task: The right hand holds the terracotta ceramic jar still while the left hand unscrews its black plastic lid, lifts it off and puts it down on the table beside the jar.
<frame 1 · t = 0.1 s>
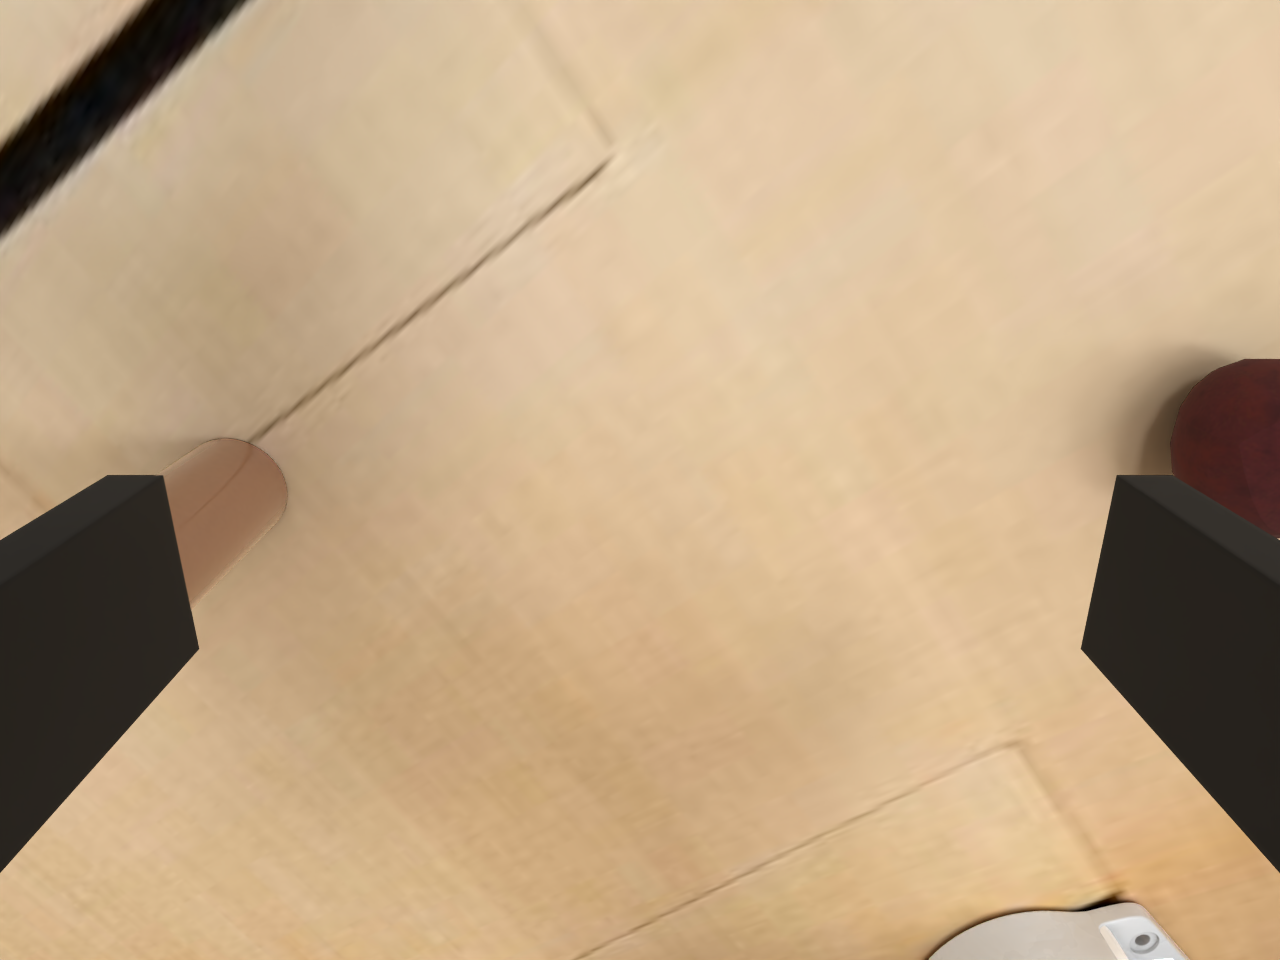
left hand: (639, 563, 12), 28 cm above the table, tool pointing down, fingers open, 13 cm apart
jar: (234, 487, 42), on the table
dark red ball: (1214, 420, 41), on the table
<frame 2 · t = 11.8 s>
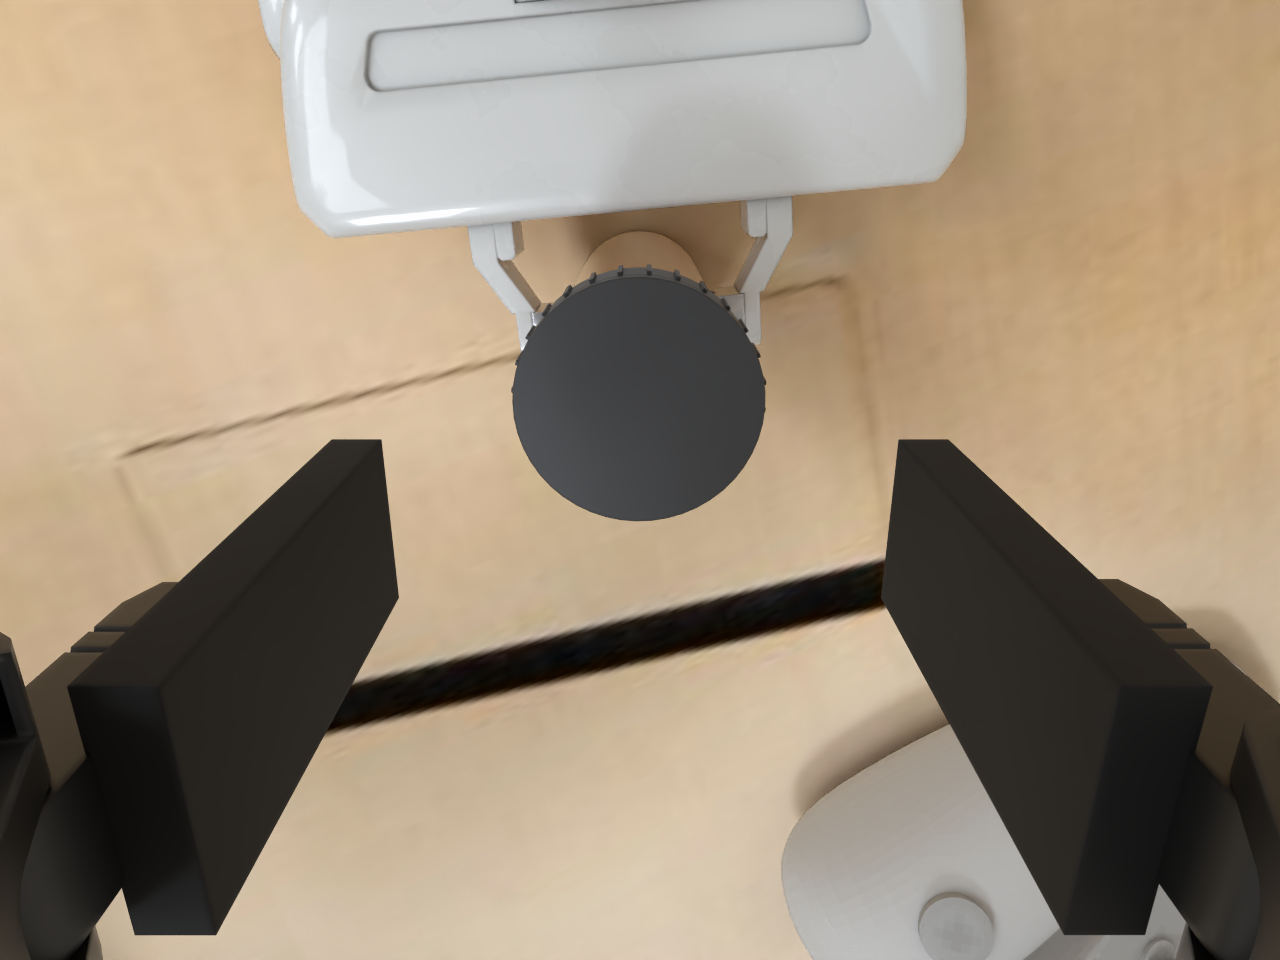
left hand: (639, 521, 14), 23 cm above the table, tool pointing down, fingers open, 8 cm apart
right hand: (643, 352, 29), fingers closed on jar, 5 cm apart
jar: (639, 295, 35), on the table, touching right hand
projector: (1013, 790, 44), on the table
lid: (638, 401, 20), point 16 cm above the table, screwed on, not yet turned
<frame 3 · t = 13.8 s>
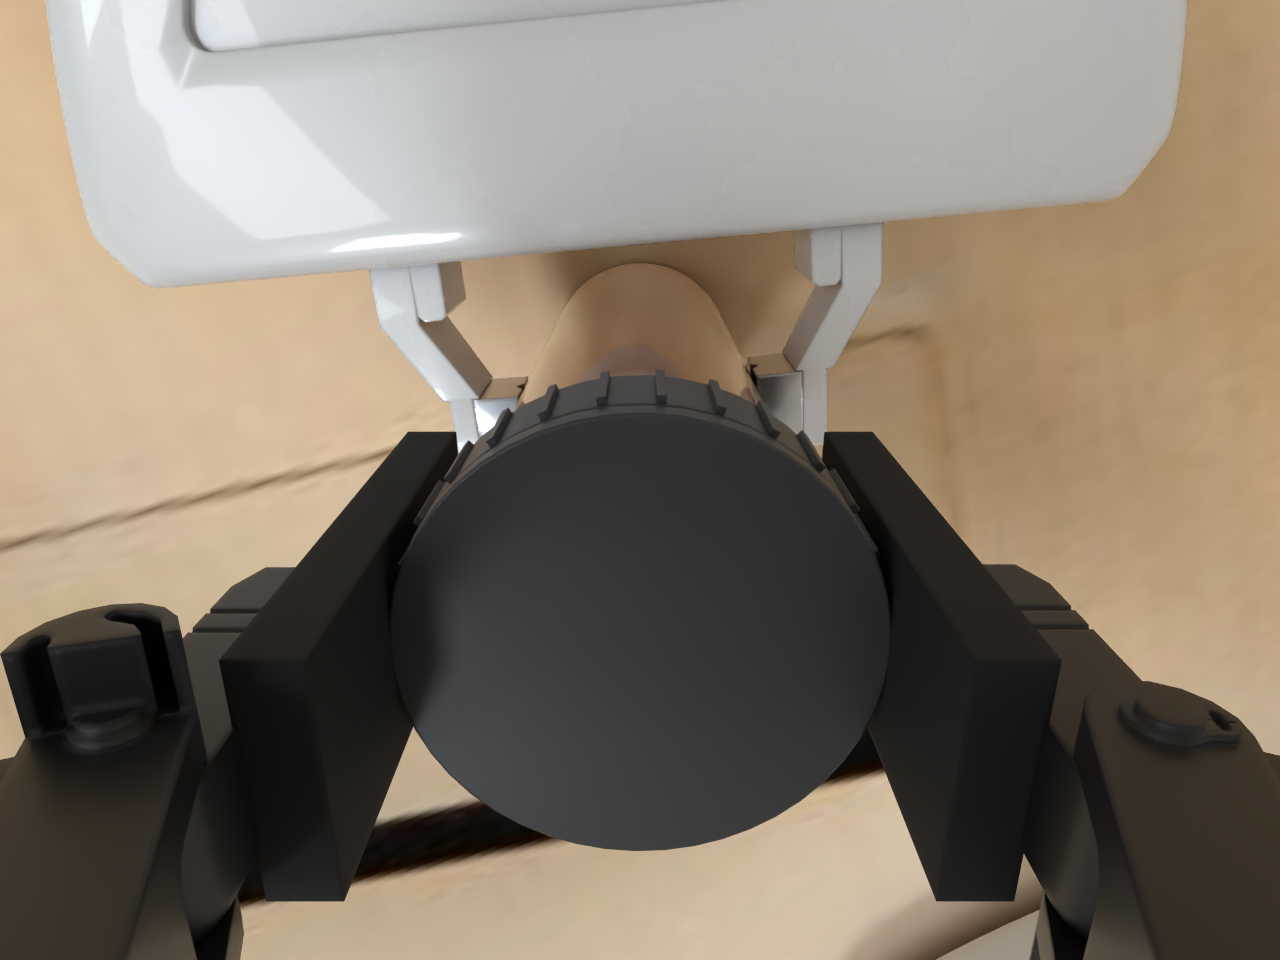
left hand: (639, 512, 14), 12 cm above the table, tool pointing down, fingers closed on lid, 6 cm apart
right hand: (646, 453, 19), fingers closed on jar, 5 cm apart
jar: (640, 351, 25), on the table, touching right hand
lid: (640, 639, 10), point 16 cm above the table, screwed on, not yet turned, touching left hand
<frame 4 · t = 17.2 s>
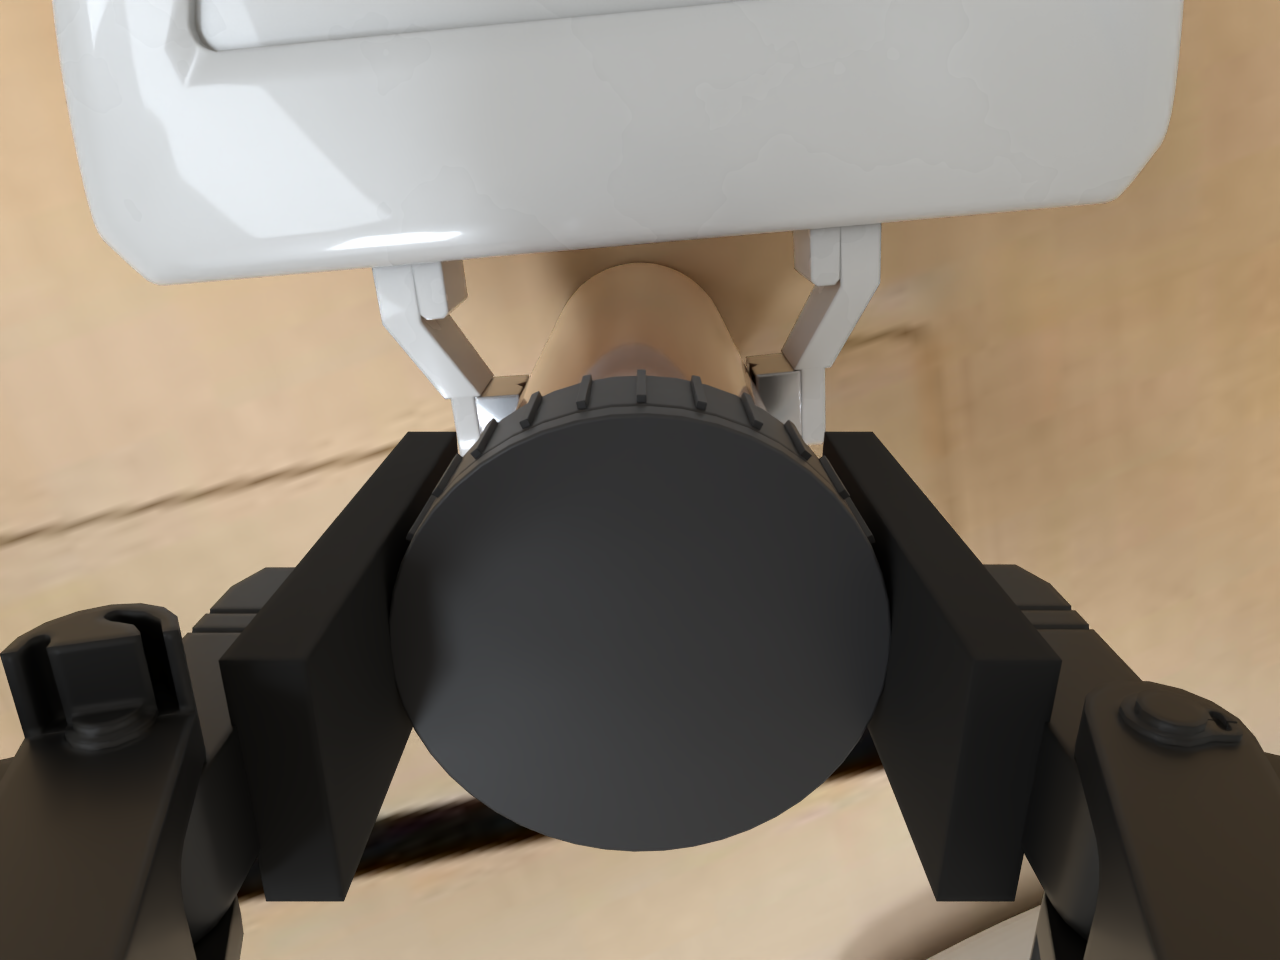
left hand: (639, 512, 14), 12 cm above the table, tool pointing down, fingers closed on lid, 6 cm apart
right hand: (645, 451, 20), fingers closed on jar, 5 cm apart
jar: (640, 350, 25), on the table, touching right hand
lid: (640, 639, 10), point 16 cm above the table, turned 120° so far, risen 0.2 cm, still on its thread, touching left hand
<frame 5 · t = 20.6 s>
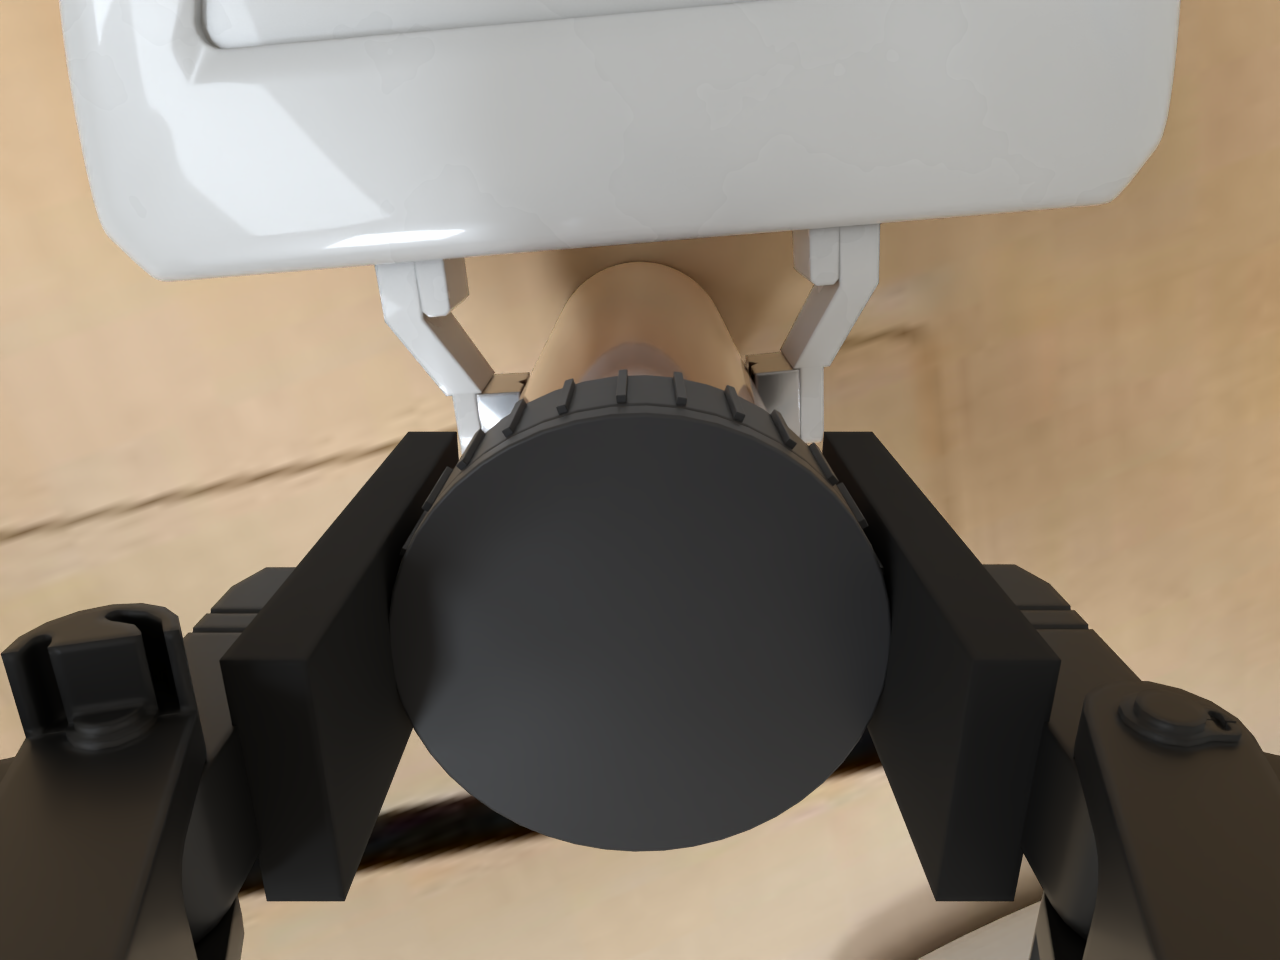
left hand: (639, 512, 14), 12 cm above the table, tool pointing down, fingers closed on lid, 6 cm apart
right hand: (645, 448, 20), fingers closed on jar, 5 cm apart
jar: (640, 349, 26), on the table, touching right hand
lid: (639, 639, 10), point 16 cm above the table, turned 240° so far, risen 0.3 cm, still on its thread, touching left hand
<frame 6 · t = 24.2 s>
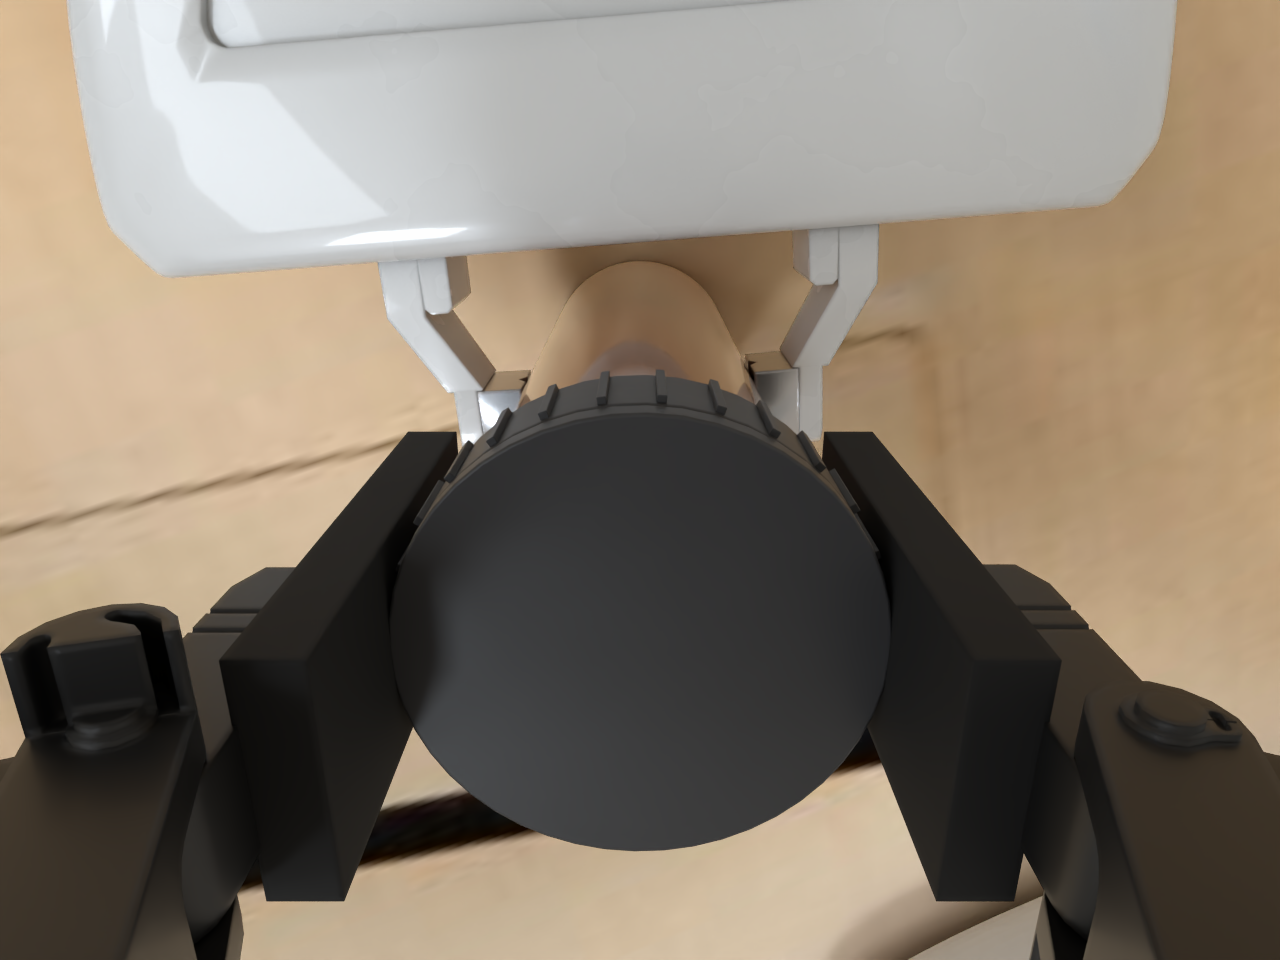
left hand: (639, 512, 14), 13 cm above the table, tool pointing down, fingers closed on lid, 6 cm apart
right hand: (645, 446, 20), fingers closed on jar, 5 cm apart
jar: (640, 347, 26), on the table, touching right hand
lid: (640, 639, 10), point 16 cm above the table, turned 361° so far, risen 0.5 cm, still on its thread, touching left hand
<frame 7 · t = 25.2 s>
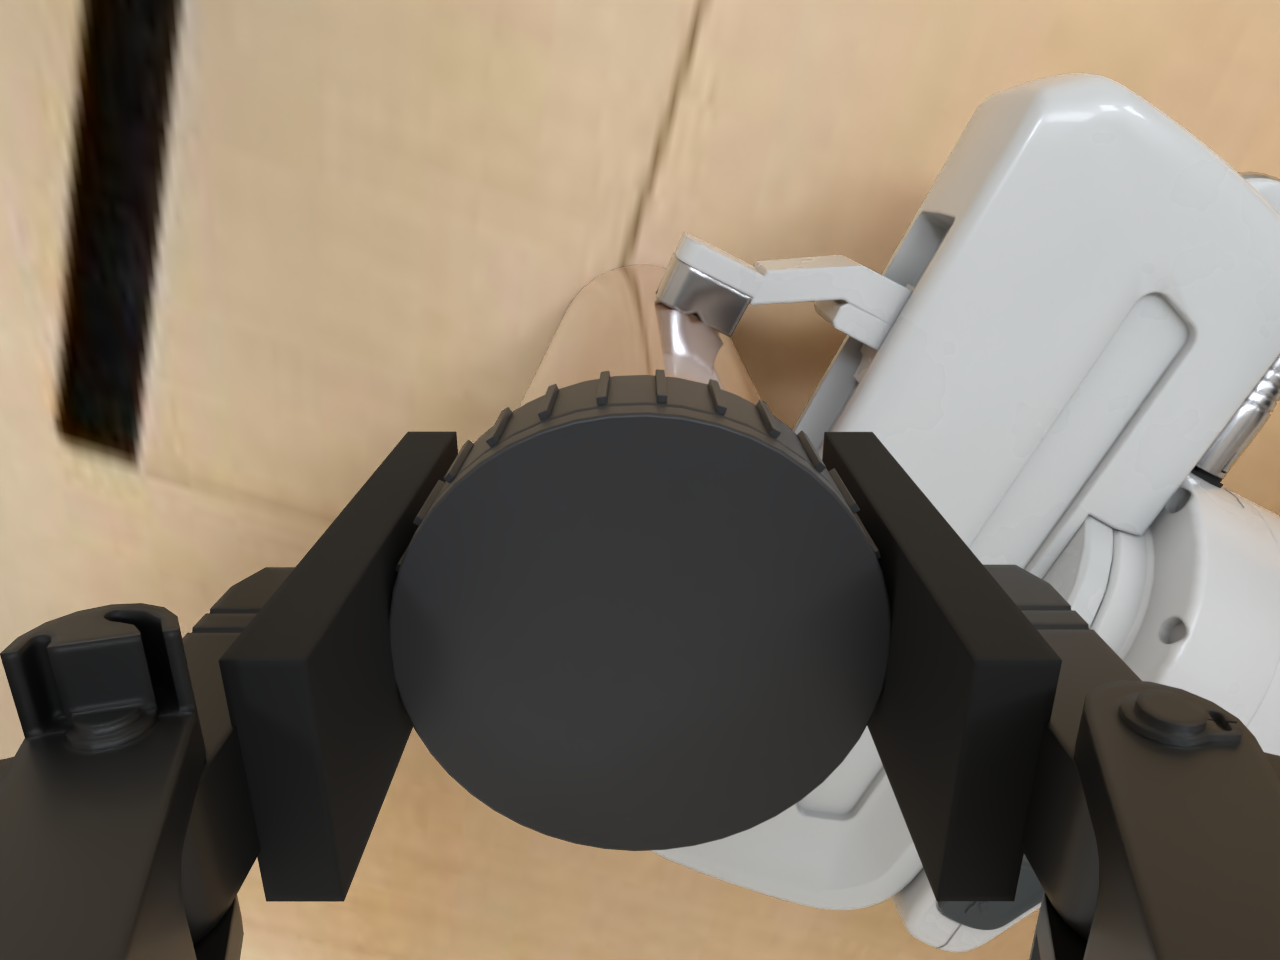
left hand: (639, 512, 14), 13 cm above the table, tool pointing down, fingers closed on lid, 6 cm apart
jar: (641, 350, 26), on the table, touching right hand
lid: (640, 639, 10), point 17 cm above the table, off its thread, touching left hand
when the left hand's fingers open (0 cm above the table, at t = 30.7 s): lid drops 3 cm, point 1 cm above the table.
when the right hand's fingers open (7 cm above the table, at t = 31.4 s): jar stays where it is, on the table.
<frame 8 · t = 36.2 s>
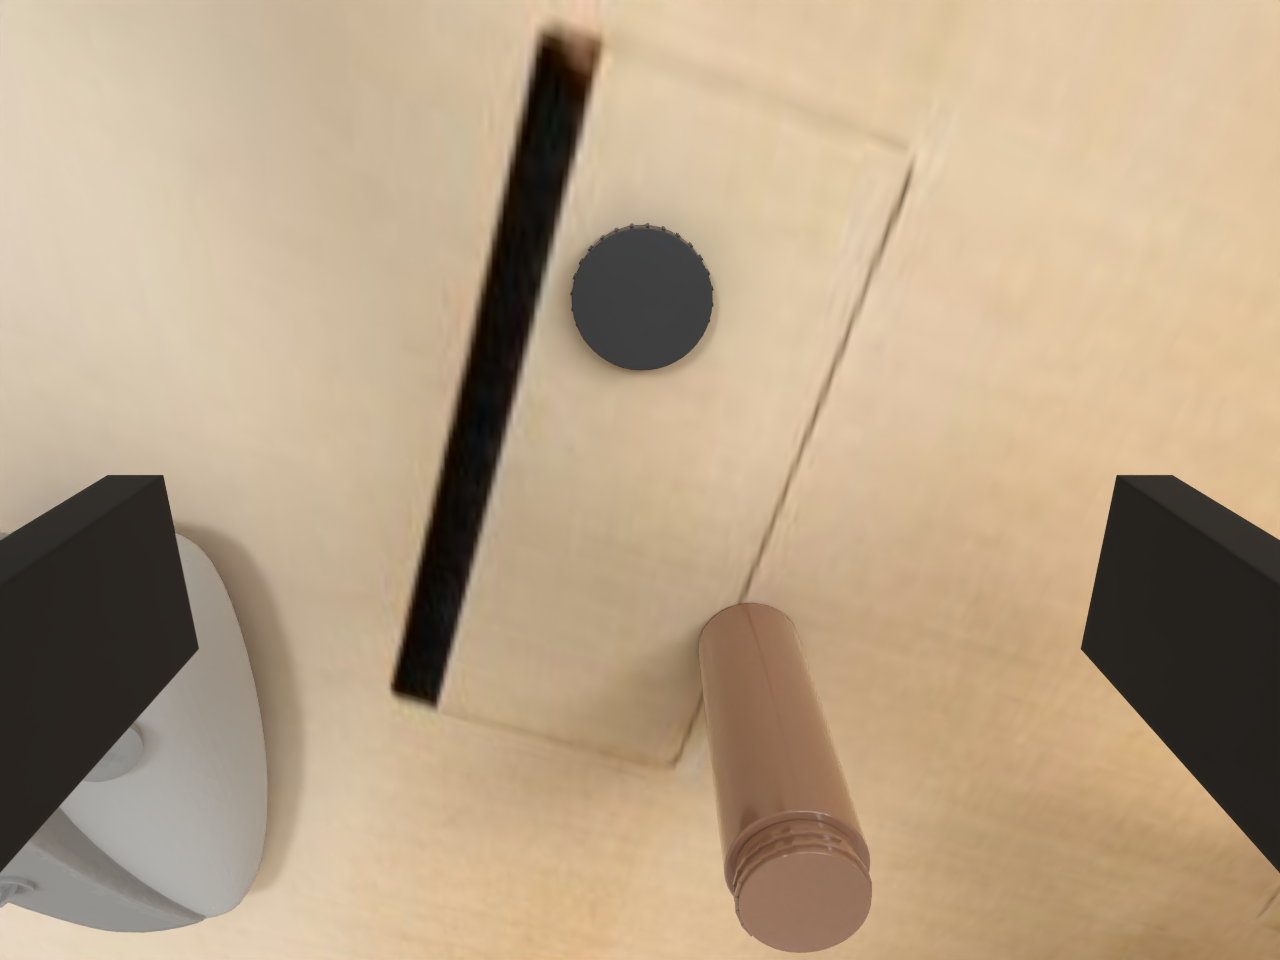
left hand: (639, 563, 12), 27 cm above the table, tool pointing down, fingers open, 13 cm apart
jar: (748, 647, 43), on the table
projector: (143, 703, 45), on the table
lid: (642, 300, 36), point 1 cm above the table, off its thread
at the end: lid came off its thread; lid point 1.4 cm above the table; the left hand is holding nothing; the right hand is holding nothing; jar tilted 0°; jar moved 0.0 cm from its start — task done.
